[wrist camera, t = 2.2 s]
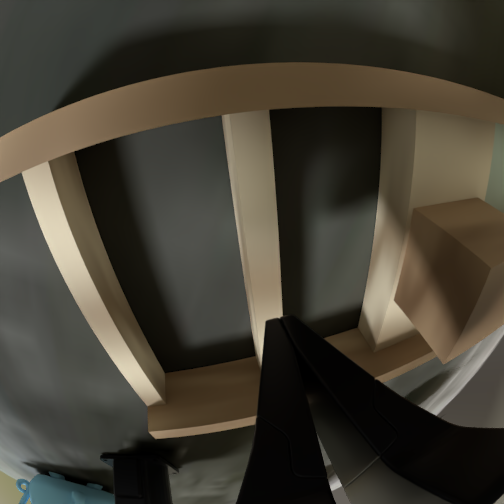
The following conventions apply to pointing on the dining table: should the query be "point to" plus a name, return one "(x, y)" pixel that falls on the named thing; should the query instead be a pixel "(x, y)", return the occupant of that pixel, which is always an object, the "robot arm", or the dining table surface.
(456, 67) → the dining table surface
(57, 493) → the decorative pot
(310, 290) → the dining table surface
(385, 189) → the board
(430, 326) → the walnut block
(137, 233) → the dining table surface
